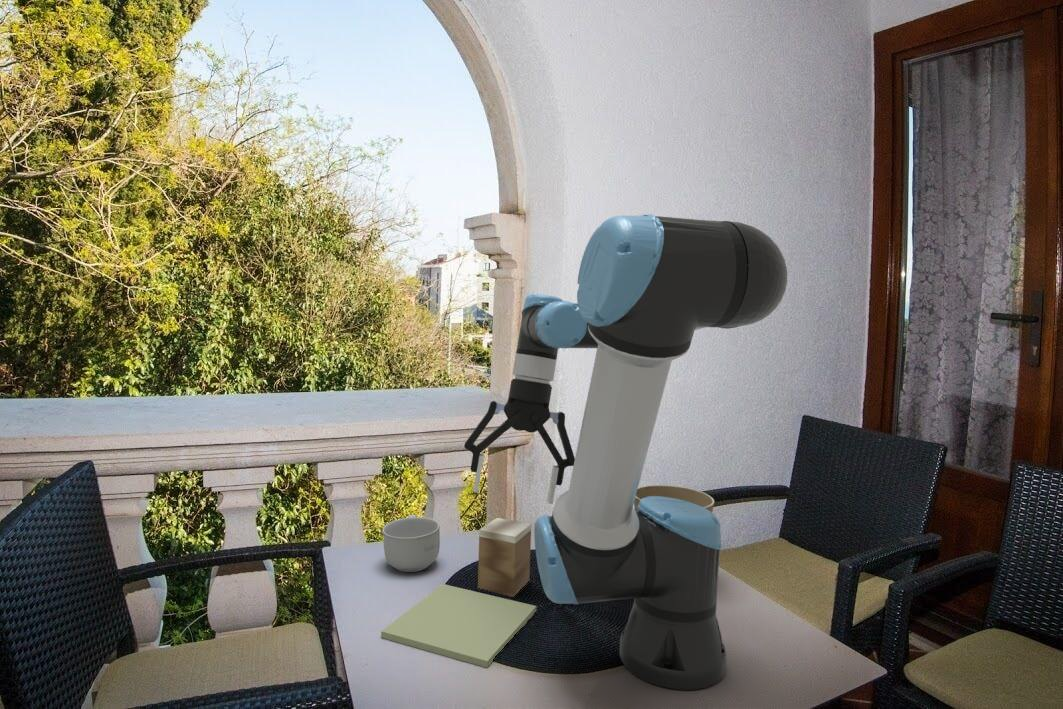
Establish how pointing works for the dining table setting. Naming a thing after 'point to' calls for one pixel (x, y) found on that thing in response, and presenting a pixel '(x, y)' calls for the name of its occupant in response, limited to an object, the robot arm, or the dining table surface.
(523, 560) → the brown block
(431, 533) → the teacup
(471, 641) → the olive mat
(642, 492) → the plant pot
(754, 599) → the dining table surface
